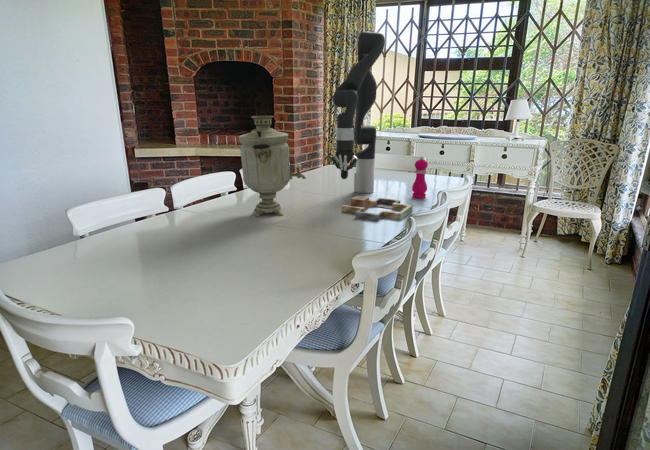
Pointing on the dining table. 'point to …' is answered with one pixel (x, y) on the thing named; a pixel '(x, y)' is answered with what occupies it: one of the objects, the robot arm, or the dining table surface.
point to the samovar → (266, 163)
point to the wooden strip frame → (386, 214)
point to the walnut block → (360, 202)
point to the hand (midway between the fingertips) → (344, 178)
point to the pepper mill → (420, 179)
